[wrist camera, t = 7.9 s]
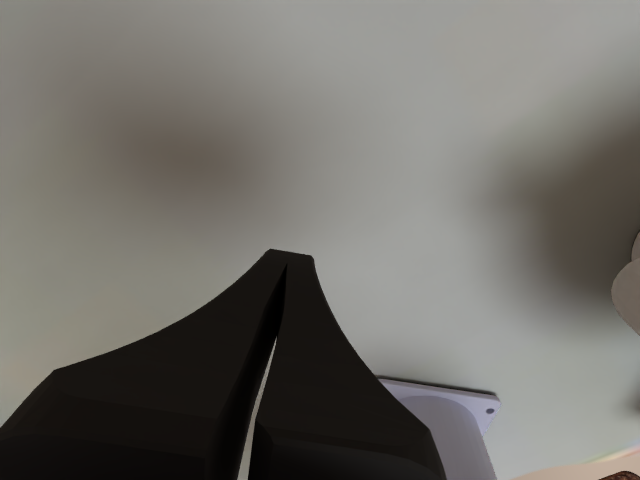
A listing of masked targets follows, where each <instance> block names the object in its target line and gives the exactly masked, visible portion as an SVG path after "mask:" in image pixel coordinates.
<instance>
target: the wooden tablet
mask: <svg viewBox="0 0 640 480" xmlns="http://www.w3.org/2000/svg"><path fill="white" fill-rule="evenodd" d="M599 480H640V477H639V476H638V475H637V474H634V473H632V472H630V471H621V472H618V473H616V474H613V475H610V476H607V477H604V478H602V479H599Z"/></svg>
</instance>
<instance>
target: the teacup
mask: <svg viewBox="0 0 640 480" xmlns="http://www.w3.org/2000/svg"><path fill="white" fill-rule="evenodd" d="M631 259H632V262H630V263H628V264H627V265H626V266H625V267H624V268H623V269H622V270H621V271H620V272H619V273H618V275H617V276H616V278H615V279H614V281H613V285H612V289H611V296H612V301H613V305H614V306H615V308H616V310H617V312H618V313H619V315H620V316H621V317H622V318H623V320H624V321H625V322H626V323H627V324H628V325H629V326H630V327H631V328H632V329H633V330H634V331H635V332H636V333H637V334H638V335H639V336H640V232H639V233H638V235H637V237H636V239H635V242H634V245H633V248H632V254H631Z"/></svg>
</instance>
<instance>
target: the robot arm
mask: <svg viewBox="0 0 640 480" xmlns="http://www.w3.org/2000/svg"><path fill="white" fill-rule="evenodd" d="M276 336H277V339H276ZM275 340H276V346H275V350H274V354H273V358H272V362H271V365H270V369H269V373H268V377H267V381H266V384H265V388H264V391H263V395H262V398H261V402H260V405H259V409H258V412H257V416H256V419H255V426H254V434H253V442H252V450H251V458H250V466H249V474H248V480H497V478H496V475H495V472H494V469H493V466H492V463H491V460H490V458H489V455H488V452H487V449H486V446H485V443H484V440H483V436H484V434H485V433H486V431H487V429H488V427H489V426H490V424H491V422H492V421H493V419H494V417H495V415H496V414H497V412H498V410H499V409H500V407H501V402H500V400H499V398H498V397H497V396H494V395H487V394H480V393H473V392H467V391H460V390H453V389H447V388H440V387H433V386H427V385H420V384H413V383H407V382H400V381H393V380H387V379H377V378H376V377H375V375H374V374H373V373H372V372H371V370H370V369H369V368H368V367H367V366H366V364H365V363H364V362H363V361H362V360H361V358H360V357H359V356H358V354H357V353H356V351H355V350H354V348H353V347H352V346H351V344H350V343H349V341H348V340H347V338H346V336H345V335H344V333H343V332H342V330H341V328H340V326H339V325H338V323H337V321H336V319H335V317H334V315H333V313H332V311H331V309H330V307H329V305H328V303H327V301H326V298H325V296H324V293H323V291H322V288H321V286H320V283H319V280H318V277H317V273H316V269H315V264H314V259H313V257H312V256H311V255H305V254H299V253H293V252H287V251H281V250H275V249H269V250H268V251H266V252H265V254H264V255H263V256H262V257H261V258H260V259H259V260H258V261H257V262H256V263H255V264H254V265H253V266H252V267H251V268H250V269H249V270H248V271H247V272H246V273H245V274H244V275H242V276H241V277H240V278H239V279H238V280H237V281H236V282H235V283H233V284H232V285H231V286H230V287H228V288H227V289H226V290H225V291H223V292H222V293H221V294H219V295H218V296H217V297H216V298H214V299H213V300H211V301H210V302H208V303H207V304H206V305H204V306H203V307H201V308H200V309H198V310H196V311H195V312H193V313H192V314H190V315H188V316H187V317H185V318H183V319H181V320H179V321H177V322H176V323H174V324H172V325H170V326H168V327H166V328H164V329H162V330H160V331H158V332H156V333H154V334H152V335H150V336H147V337H145V338H143V339H140V340H138V341H136V342H133V343H131V344H128V345H126V346H123V347H121V348H118V349H116V350H113V351H110V352H108V353H105V354H102V355H99V356H96V357H93V358H90V359H87V360H84V361H81V362H78V363H75V364H72V365H69V366H66V367H62V368H59V369H56V370H54V371H53V372H52V373H51V374H50V375H49V376H48V377H47V378H46V379H45V380H44V381H42V382H41V383H40V384H39V385H38V386H37V387H36V388H35V389H34V390H33V391H32V393H31V394H30V395H29V396H28V397H27V398H26V399H25V400H24V401H23V403H22V404H21V405H20V406H19V407H18V408H17V409H16V411H15V412H14V413H13V414H12V415H11V416H10V417H9V419H8V420H7V421H6V422H5V423H4V424H3V426H2V427H1V428H0V480H237V478H238V473H239V469H240V464H241V460H242V455H243V451H244V446H245V442H246V437H247V433H248V428H249V424H250V420H251V415H252V412H253V408H254V405H255V401H256V398H257V395H258V392H259V389H260V386H261V383H262V379H263V376H264V373H265V370H266V367H267V364H268V361H269V358H270V355H271V352H272V349H273V346H274V343H275Z"/></svg>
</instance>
